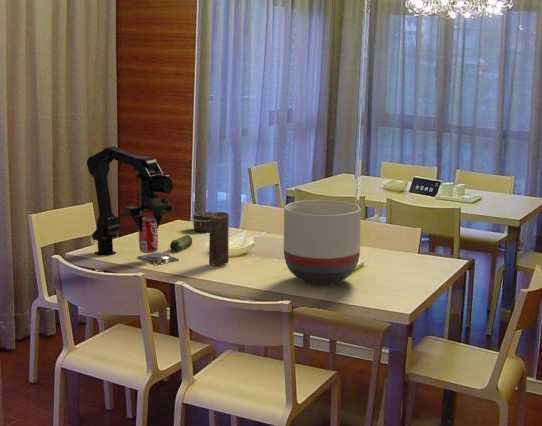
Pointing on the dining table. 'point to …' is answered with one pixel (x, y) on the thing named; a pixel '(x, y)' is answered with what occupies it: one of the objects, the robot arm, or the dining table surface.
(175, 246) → the vegetable
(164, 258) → the pawl stand
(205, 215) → the jar
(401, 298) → the dining table surface
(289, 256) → the planter
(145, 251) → the soda can
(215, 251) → the candle
